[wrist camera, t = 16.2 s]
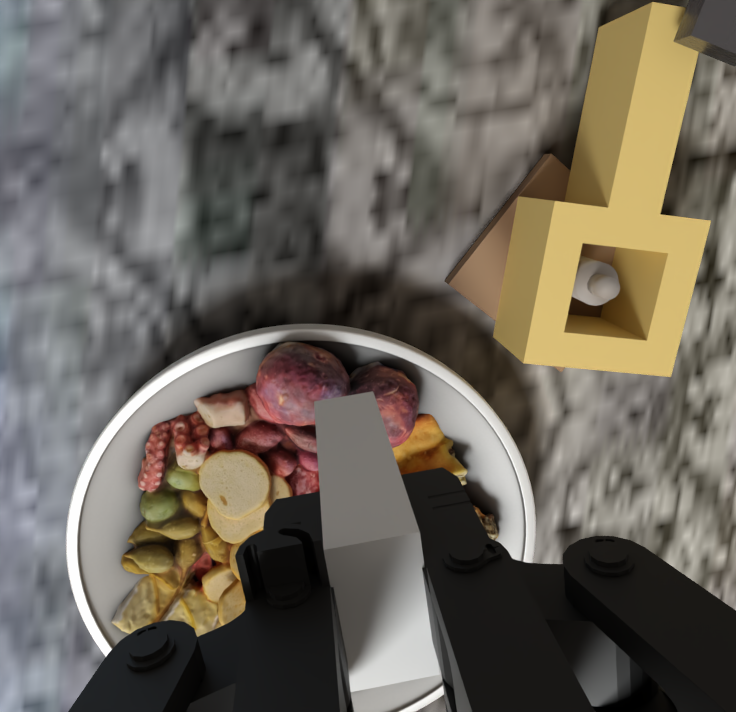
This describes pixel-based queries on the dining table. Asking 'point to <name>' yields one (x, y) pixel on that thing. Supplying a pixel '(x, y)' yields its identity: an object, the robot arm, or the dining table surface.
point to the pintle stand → (489, 253)
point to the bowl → (265, 473)
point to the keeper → (710, 29)
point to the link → (612, 214)
